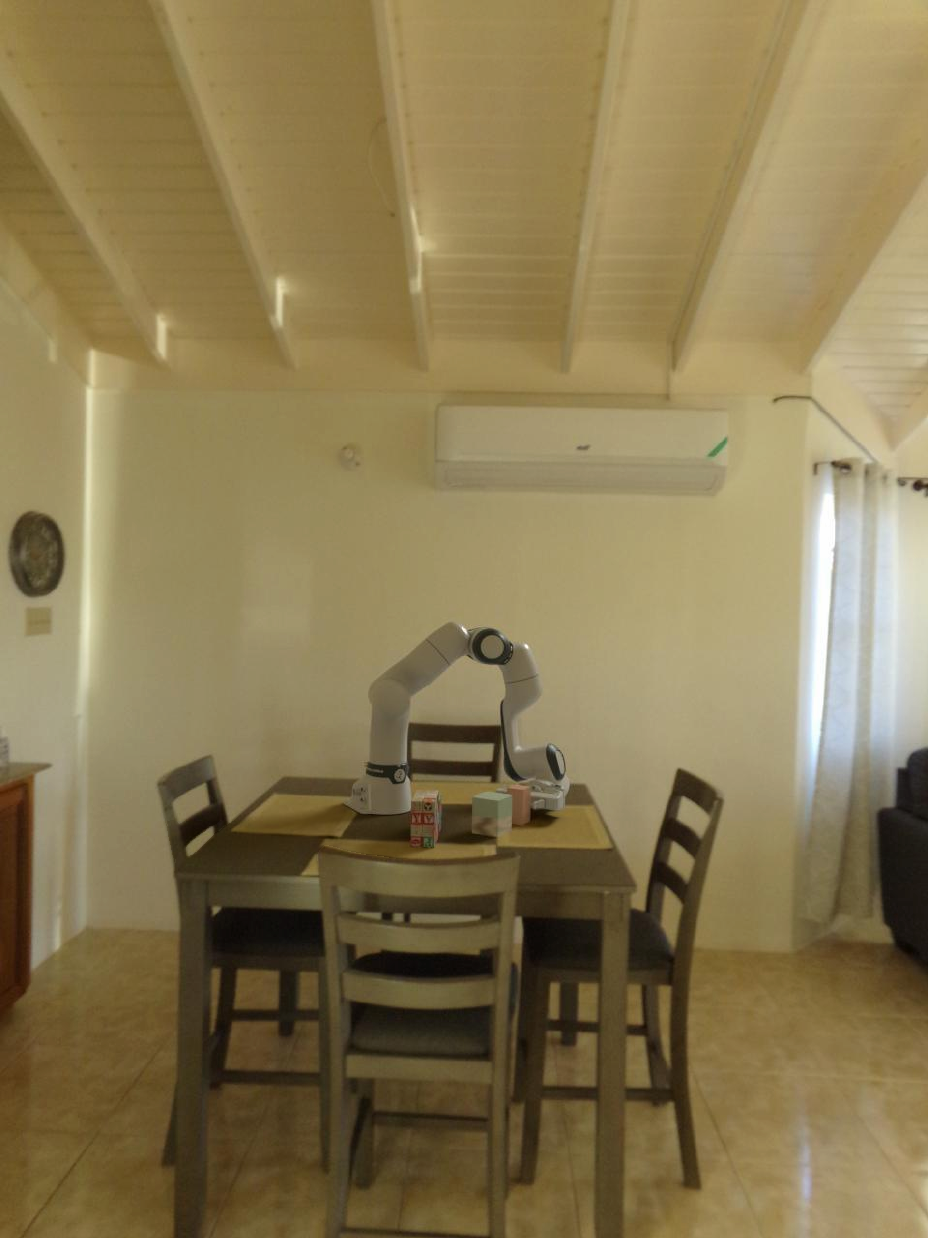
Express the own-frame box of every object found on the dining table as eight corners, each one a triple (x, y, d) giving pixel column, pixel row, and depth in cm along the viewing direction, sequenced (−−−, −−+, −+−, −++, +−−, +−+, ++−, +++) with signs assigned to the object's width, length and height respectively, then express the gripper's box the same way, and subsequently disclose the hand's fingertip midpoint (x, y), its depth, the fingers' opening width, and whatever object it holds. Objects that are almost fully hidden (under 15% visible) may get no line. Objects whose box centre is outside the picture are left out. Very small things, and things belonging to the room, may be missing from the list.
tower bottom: (471, 833, 253) (471, 815, 253) (486, 827, 260) (486, 809, 260) (497, 838, 249) (498, 819, 249) (511, 831, 256) (511, 813, 256)
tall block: (506, 823, 265) (506, 787, 264) (514, 819, 269) (514, 784, 268) (522, 825, 262) (522, 790, 262) (530, 821, 266) (530, 786, 266)
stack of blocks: (419, 826, 260) (419, 782, 259) (441, 827, 260) (442, 782, 259) (409, 848, 239) (410, 800, 238) (434, 848, 238) (435, 800, 238)
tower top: (472, 815, 253) (472, 796, 253) (486, 809, 260) (486, 791, 260) (498, 819, 249) (498, 800, 249) (512, 813, 256) (512, 795, 256)
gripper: (506, 779, 282) (485, 787, 270) (569, 787, 272) (550, 797, 260) (506, 800, 282) (484, 809, 270) (569, 809, 272) (549, 819, 260)
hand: (517, 803), depth 265 cm, fingers open, 8 cm apart
